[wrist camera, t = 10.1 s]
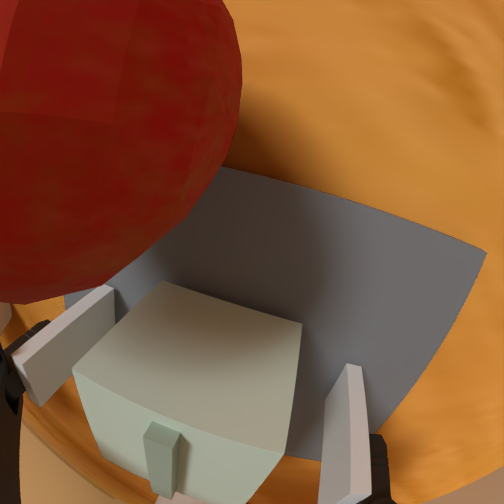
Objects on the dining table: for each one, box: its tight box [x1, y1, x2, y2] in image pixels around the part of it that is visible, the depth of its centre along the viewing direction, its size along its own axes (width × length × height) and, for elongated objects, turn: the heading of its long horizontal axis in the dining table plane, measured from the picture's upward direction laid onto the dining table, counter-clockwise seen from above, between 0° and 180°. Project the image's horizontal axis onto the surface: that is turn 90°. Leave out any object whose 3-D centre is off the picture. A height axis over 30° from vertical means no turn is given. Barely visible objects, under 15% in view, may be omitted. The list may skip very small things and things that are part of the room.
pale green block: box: [72, 280, 302, 504], centre depth 10 cm, size 6×6×7 cm
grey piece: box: [64, 166, 487, 461], centre depth 11 cm, size 20×16×5 cm
